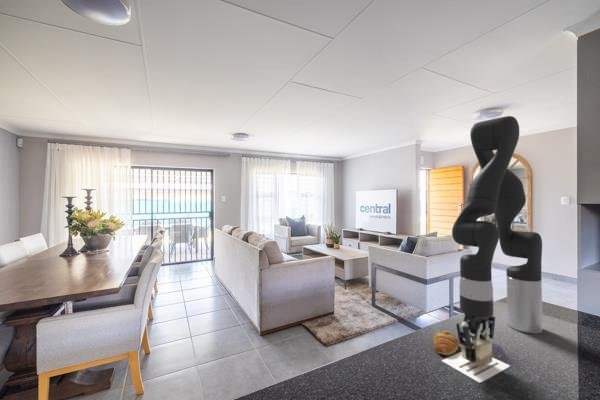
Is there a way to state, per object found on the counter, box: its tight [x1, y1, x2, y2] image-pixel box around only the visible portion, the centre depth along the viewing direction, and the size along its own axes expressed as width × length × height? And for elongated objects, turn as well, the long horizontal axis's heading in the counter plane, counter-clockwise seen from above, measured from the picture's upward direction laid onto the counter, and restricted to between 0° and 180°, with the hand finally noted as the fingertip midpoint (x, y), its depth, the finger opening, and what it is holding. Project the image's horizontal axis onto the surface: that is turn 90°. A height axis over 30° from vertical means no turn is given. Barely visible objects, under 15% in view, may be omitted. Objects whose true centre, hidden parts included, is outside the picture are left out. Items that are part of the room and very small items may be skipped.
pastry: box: [432, 330, 460, 357], centre depth 78 cm, size 9×7×4 cm
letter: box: [440, 351, 511, 384], centre depth 71 cm, size 14×10×1 cm
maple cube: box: [461, 334, 493, 367], centre depth 70 cm, size 5×5×5 cm
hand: (477, 357), depth 70 cm, fingers closed on maple cube, 5 cm apart
